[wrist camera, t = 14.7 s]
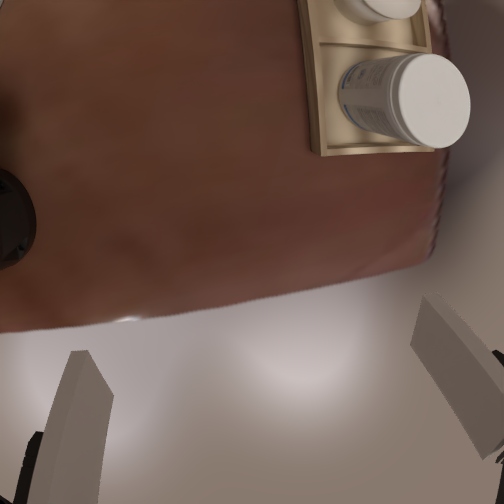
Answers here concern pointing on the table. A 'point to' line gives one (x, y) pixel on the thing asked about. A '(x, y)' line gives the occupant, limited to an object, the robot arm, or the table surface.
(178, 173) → the table surface
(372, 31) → the caddy
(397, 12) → the sugar pot
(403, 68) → the supplement tub
